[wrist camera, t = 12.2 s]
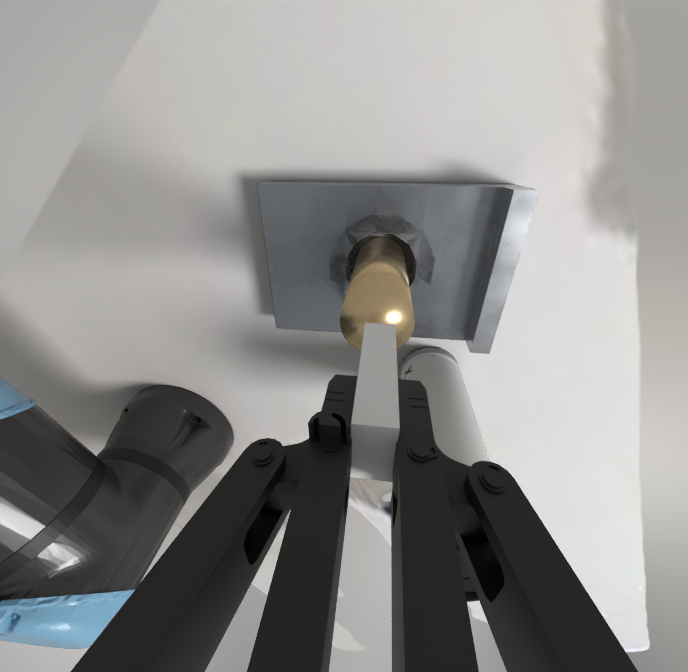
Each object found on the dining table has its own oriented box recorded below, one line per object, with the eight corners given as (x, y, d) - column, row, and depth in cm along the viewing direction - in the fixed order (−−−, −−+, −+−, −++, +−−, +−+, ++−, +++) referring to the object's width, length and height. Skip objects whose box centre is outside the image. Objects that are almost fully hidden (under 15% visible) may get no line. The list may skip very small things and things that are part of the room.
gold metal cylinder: (356, 282, 29) (339, 351, 19) (357, 236, 27) (339, 286, 17) (401, 284, 29) (409, 356, 19) (407, 237, 26) (419, 290, 16)
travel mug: (389, 356, 33) (392, 567, 16) (449, 339, 31) (524, 560, 14) (407, 396, 36) (425, 614, 19) (464, 383, 34) (541, 613, 17)
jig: (283, 316, 32) (269, 338, 28) (267, 181, 25) (246, 185, 22) (476, 328, 30) (489, 353, 26) (515, 184, 23) (539, 190, 20)
